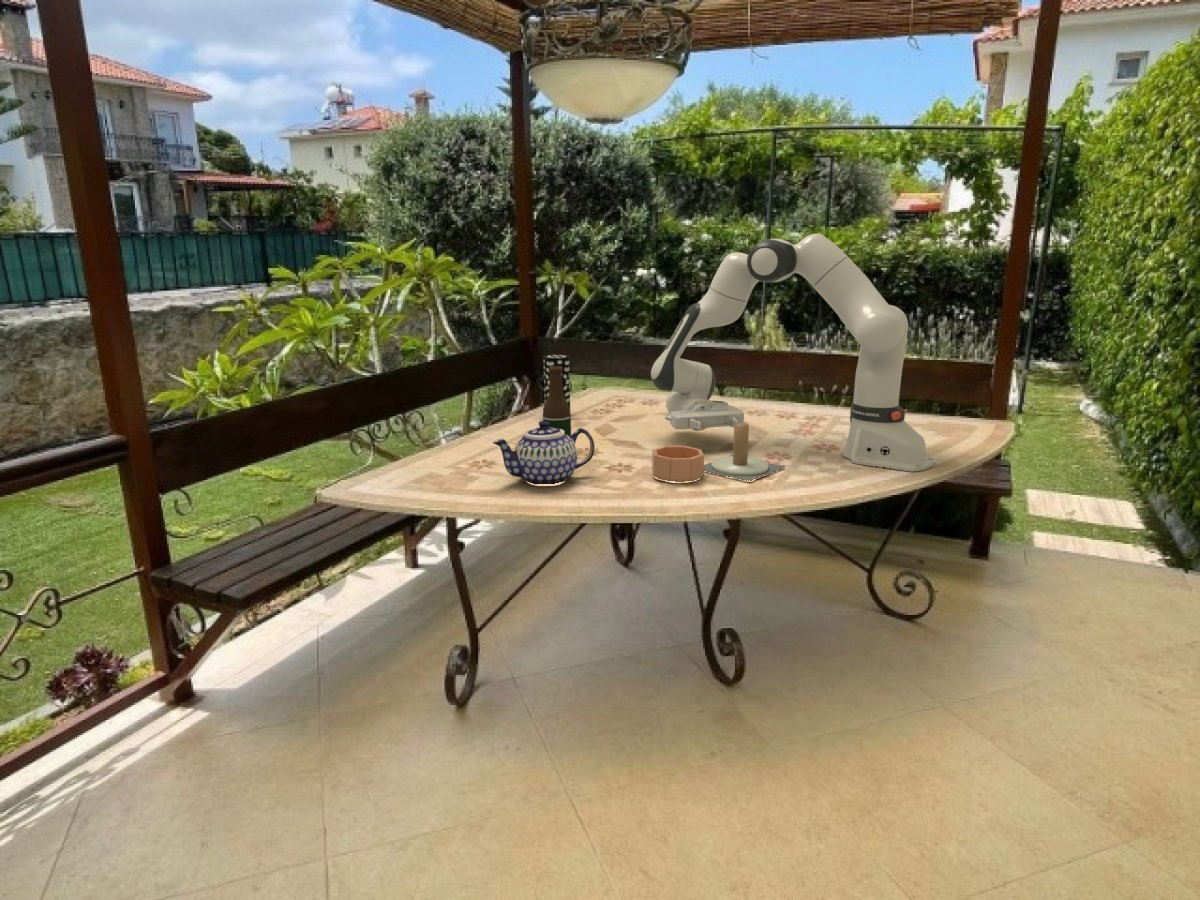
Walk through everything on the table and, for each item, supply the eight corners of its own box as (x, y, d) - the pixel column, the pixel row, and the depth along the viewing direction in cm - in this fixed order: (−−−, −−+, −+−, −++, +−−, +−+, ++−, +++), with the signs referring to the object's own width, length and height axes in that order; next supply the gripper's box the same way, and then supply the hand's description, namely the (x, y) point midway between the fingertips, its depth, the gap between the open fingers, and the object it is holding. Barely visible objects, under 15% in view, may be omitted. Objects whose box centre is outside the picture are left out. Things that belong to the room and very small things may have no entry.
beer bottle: (575, 452, 202) (574, 365, 196) (566, 460, 195) (565, 369, 188) (548, 451, 204) (546, 364, 198) (538, 458, 197) (536, 368, 191)
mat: (784, 468, 186) (784, 466, 186) (749, 483, 175) (749, 481, 175) (730, 457, 197) (731, 455, 197) (694, 470, 186) (694, 468, 186)
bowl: (712, 475, 181) (712, 451, 180) (681, 487, 173) (682, 462, 171) (673, 466, 189) (673, 443, 188) (642, 476, 181) (642, 452, 179)
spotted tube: (542, 415, 247) (540, 355, 242) (566, 413, 249) (565, 354, 244) (548, 420, 239) (546, 358, 234) (573, 418, 242) (572, 357, 237)
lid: (779, 466, 186) (781, 424, 183) (748, 479, 176) (750, 434, 174) (732, 456, 196) (733, 415, 193) (700, 468, 186) (701, 425, 183)
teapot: (585, 467, 189) (585, 410, 185) (605, 484, 175) (605, 423, 172) (487, 477, 181) (485, 417, 177) (500, 495, 168) (498, 431, 164)
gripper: (663, 405, 204) (682, 416, 192) (731, 401, 210) (754, 411, 197) (662, 427, 206) (681, 439, 193) (729, 422, 212) (752, 434, 199)
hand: (718, 425), depth 195 cm, fingers open, 8 cm apart
